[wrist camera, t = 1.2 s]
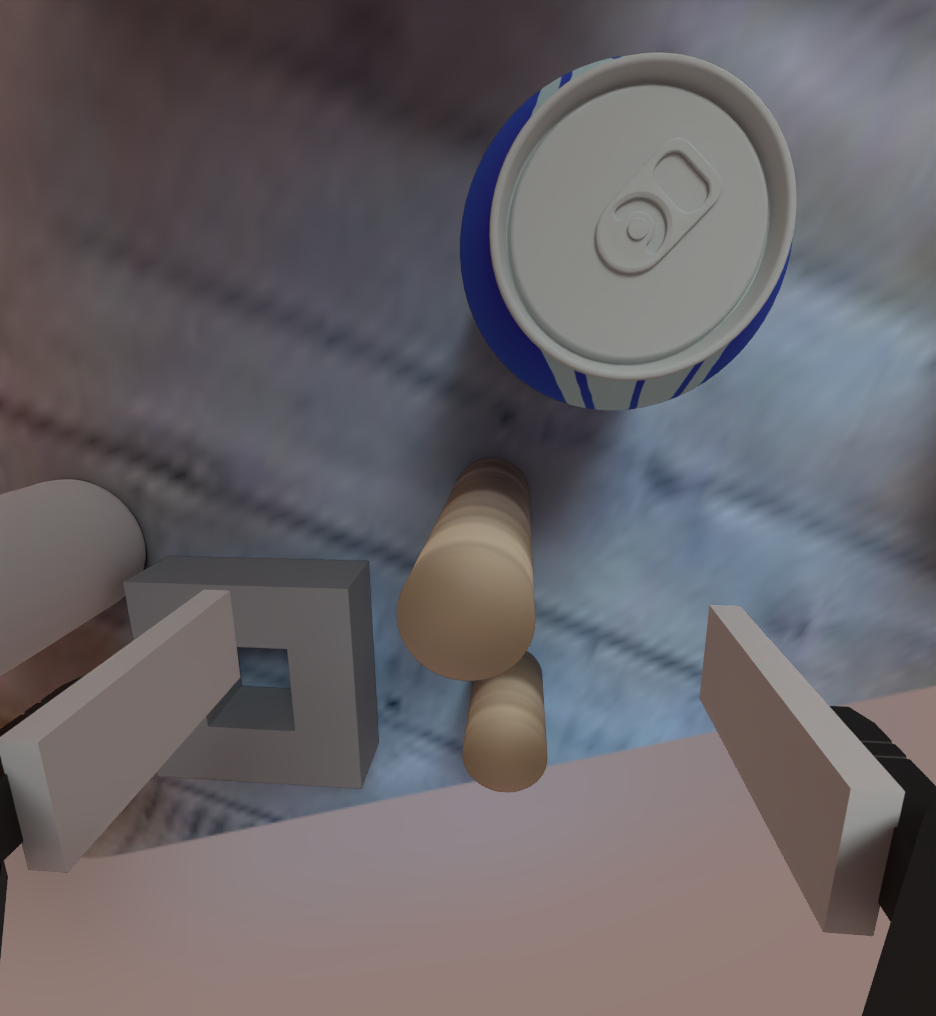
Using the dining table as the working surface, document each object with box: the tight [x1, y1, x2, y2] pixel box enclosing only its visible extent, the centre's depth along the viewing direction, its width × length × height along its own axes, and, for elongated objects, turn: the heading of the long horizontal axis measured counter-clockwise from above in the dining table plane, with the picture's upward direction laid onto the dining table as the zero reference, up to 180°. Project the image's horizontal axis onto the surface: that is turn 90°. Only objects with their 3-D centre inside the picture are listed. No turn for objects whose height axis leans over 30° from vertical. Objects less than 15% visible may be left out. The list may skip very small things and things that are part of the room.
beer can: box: [460, 53, 797, 410], centre depth 20 cm, size 8×8×16 cm
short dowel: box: [462, 651, 547, 792], centre depth 30 cm, size 4×4×7 cm
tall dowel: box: [397, 458, 535, 681], centre depth 24 cm, size 4×4×15 cm
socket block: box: [123, 556, 379, 789], centre depth 33 cm, size 12×12×4 cm
